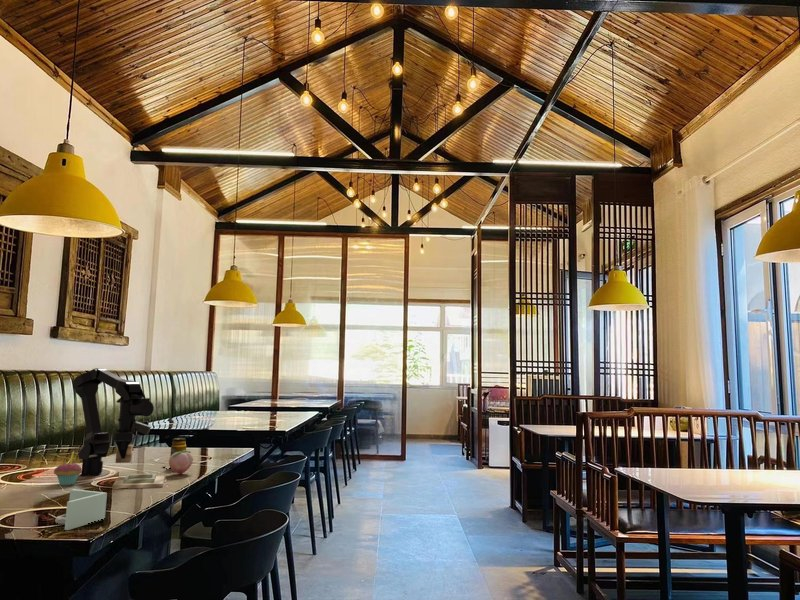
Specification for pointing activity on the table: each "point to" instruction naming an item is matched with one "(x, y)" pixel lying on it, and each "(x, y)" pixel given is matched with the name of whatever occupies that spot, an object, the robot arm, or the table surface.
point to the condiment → (178, 445)
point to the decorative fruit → (180, 461)
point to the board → (139, 481)
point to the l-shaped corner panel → (83, 508)
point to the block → (127, 458)
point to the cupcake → (68, 472)
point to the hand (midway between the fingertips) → (123, 457)
